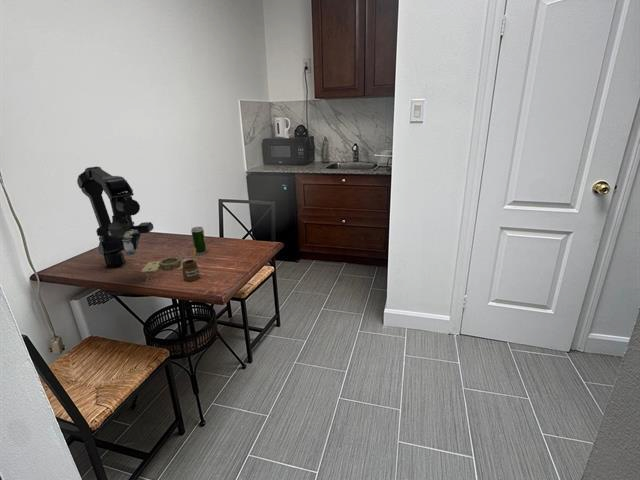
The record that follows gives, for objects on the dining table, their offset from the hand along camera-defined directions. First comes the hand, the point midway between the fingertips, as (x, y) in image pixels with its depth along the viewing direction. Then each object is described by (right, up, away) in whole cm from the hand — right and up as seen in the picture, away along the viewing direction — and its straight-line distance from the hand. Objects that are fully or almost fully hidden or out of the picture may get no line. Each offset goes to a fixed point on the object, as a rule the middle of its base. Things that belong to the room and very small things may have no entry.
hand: (130, 249), depth 135 cm
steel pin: (0, -1, +1) cm, 2 cm away
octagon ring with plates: (+10, -7, +14) cm, 18 cm away
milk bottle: (-22, 0, +39) cm, 44 cm away
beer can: (+18, -2, +28) cm, 33 cm away
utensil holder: (+24, -12, +2) cm, 26 cm away
